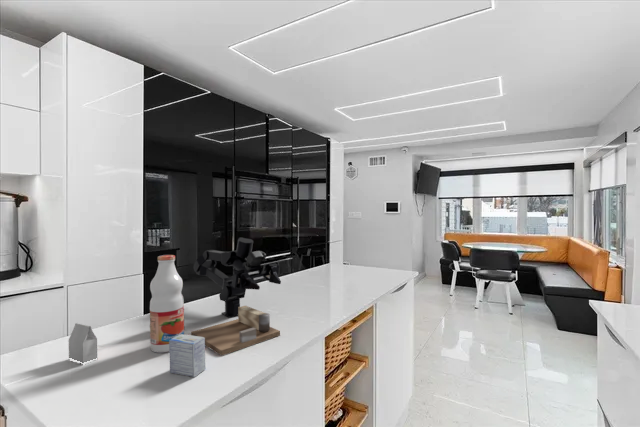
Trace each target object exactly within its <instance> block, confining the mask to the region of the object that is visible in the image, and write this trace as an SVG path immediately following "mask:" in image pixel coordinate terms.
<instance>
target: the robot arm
mask: <svg viewBox="0 0 640 427" xmlns="http://www.w3.org/2000/svg"><path fill="white" fill-rule="evenodd" d="M253 244H254V240H253V239H251V238H247V237H246V238H245V237H238V238H237V245H236V250H230V251H221V250H216V249H209V250H208V249H207V250H205V251H204V252H202V254H201V255H200V256H199V257H198V258H197V259H195V262H194V263H193V271H194V272H195V273H196V275H198V276H205V277H208V278H209V279H210V280H212V281H213V282H214V283H215V284H217V285H218V286H219V287H221V289H222V290H221V291H220V292H219V295H218V296H219V300H220V301H222V302H224V311H222V312H221V315H223V316H225V317H228V318H232V317H237V316H238V307H241V301H240V300H241V299H244V298H245V296H246V291H247V290H260V285H259V284H258V283H257V282H258V281H260V280H261V279H265V280H266V281H268V282H269V283H271V284H276V285H281V282H282V281H281V279H280V277H279V271H280V270H279V269H280V266H279V265H278V264H277V263H269V264H267V265H266V268H265V270H263V271H262V268H263V264H262V262H263V261H265V260H266V258H267V254H266V253H265V252H264V251H262V250H256V251H253ZM217 262H220V263H221V264H222V265H223V266H225V267H232V276H228V275H226V274H225V273H224V272H222V271H221V270H220V269H218V268H217V267H216V266H217V264H218V263H217Z"/></svg>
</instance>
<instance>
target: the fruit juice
mask: <svg viewBox="0 0 640 427" xmlns="http://www.w3.org/2000/svg"><path fill="white" fill-rule="evenodd" d="M156 261H157V262H158V266H157V270H156V272H155V275H154V277H153V278H152V279H151V281H150V285H149V290H150V293H151V298H150V301H149V326H150V327H149V331H150V332H149V335H150V336H149V337H150V339H149V341H150V342H149V343H150V350H151V351H152V352H154V353H161V354H162V353H169V340H171V339H172V338H174V337H176V336H178V335H181V334H184V335H185V317H184V316H185V314H184V313H185V306H184V305H185V303H184V302H185V301H184V296H183V294H182V290H183V285H184V283H183V278H182V277H181V276H180V275H179V273H178V271H177V268H176V265H175V261H176V255H174V254H163V255H159V256H157V260H156Z"/></svg>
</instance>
